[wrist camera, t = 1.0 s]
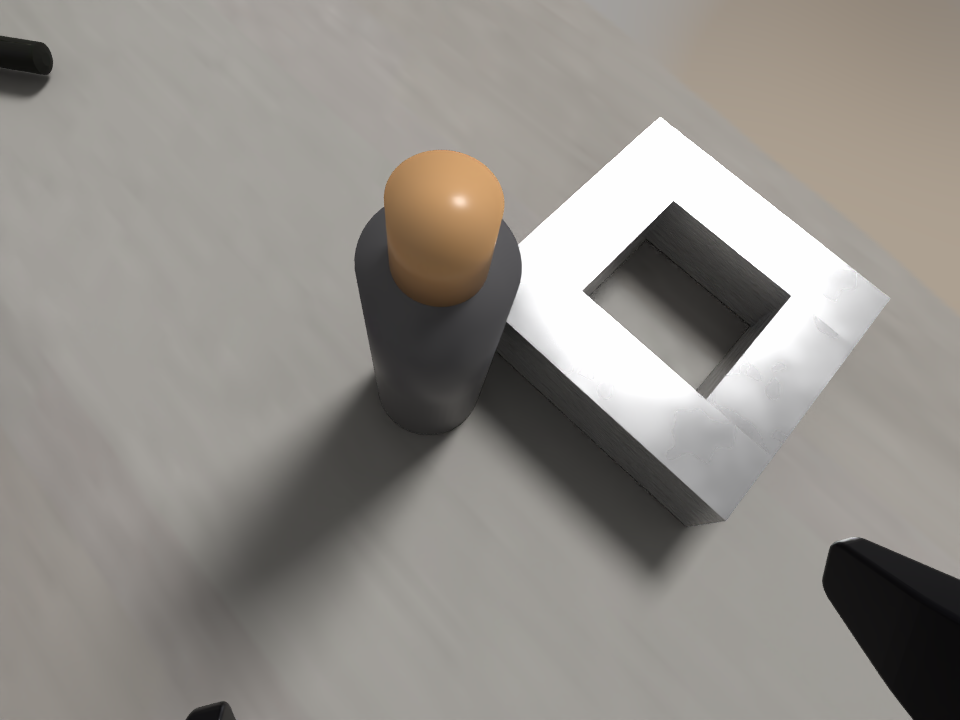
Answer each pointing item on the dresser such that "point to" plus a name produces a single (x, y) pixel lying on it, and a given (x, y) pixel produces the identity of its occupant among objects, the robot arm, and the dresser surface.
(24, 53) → the handheld radio
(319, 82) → the dresser surface
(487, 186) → the plug
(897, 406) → the dresser surface
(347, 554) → the dresser surface
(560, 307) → the socket plate
